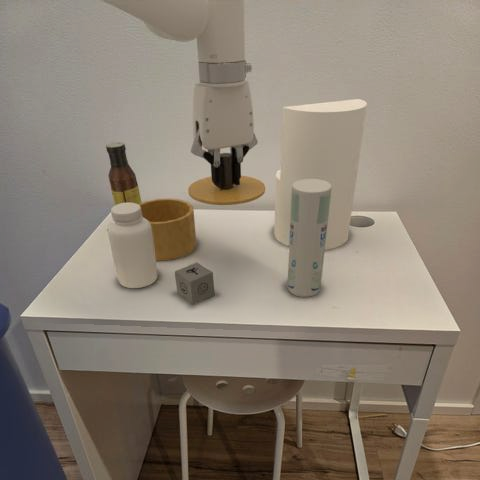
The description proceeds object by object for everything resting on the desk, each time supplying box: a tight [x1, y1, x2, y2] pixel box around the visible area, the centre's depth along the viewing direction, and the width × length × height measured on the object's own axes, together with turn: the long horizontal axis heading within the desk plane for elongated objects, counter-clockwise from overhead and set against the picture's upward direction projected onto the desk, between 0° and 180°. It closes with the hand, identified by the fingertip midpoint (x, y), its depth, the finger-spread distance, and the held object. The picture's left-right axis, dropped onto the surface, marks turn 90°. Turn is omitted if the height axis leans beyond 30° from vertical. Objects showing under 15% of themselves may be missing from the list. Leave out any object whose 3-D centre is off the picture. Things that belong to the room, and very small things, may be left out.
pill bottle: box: [107, 203, 159, 289], centre depth 83 cm, size 8×8×15 cm
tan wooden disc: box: [187, 152, 266, 206], centre depth 81 cm, size 15×15×7 cm
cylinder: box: [273, 98, 368, 251], centre depth 94 cm, size 17×17×28 cm
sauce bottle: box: [105, 141, 143, 206], centre depth 101 cm, size 7×6×20 cm
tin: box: [138, 198, 197, 261], centre depth 96 cm, size 14×14×8 cm
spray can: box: [287, 179, 332, 298], centre depth 77 cm, size 6×6×20 cm
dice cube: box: [174, 261, 215, 306], centre depth 81 cm, size 5×5×5 cm
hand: (226, 183), depth 82 cm, fingers closed on tan wooden disc, 2 cm apart
